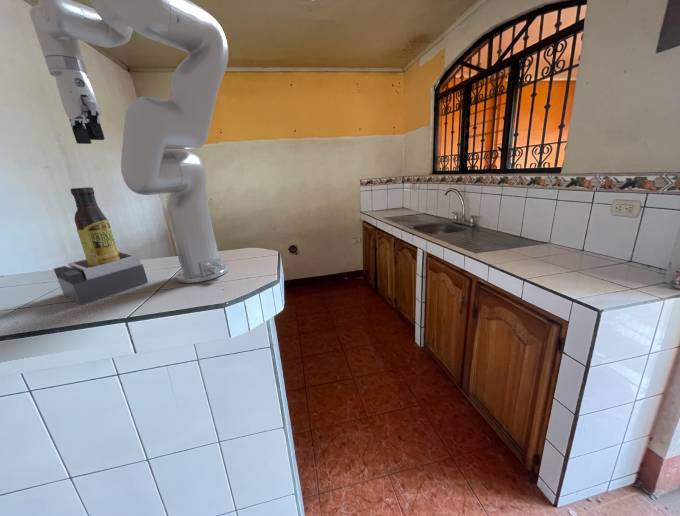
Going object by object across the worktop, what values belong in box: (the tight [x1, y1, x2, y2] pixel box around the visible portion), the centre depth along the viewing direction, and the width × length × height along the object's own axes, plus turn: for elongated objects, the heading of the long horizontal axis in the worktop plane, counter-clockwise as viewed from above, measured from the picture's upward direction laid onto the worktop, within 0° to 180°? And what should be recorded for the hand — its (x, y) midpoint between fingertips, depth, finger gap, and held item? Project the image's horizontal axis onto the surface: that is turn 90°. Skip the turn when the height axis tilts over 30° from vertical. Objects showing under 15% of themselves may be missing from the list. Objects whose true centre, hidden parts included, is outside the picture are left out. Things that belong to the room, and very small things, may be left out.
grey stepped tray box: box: [53, 250, 149, 306], centre depth 72 cm, size 12×14×8 cm
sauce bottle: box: [70, 186, 120, 267], centre depth 69 cm, size 6×6×20 cm
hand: (90, 141), depth 79 cm, fingers open, 9 cm apart
